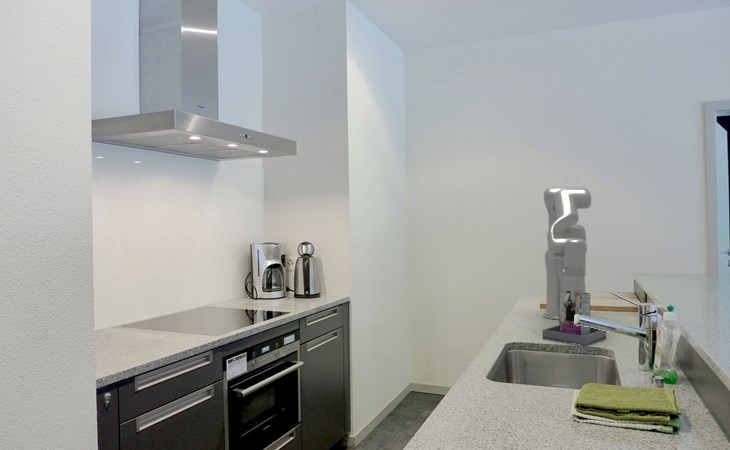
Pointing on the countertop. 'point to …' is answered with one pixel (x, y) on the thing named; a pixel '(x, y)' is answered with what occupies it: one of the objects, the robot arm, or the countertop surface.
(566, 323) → the candy bar box
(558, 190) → the robot arm
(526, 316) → the countertop surface
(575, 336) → the tray
